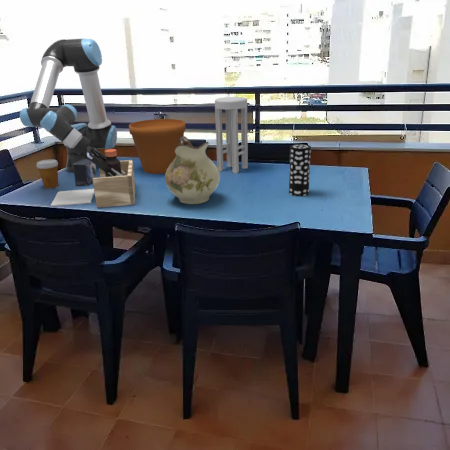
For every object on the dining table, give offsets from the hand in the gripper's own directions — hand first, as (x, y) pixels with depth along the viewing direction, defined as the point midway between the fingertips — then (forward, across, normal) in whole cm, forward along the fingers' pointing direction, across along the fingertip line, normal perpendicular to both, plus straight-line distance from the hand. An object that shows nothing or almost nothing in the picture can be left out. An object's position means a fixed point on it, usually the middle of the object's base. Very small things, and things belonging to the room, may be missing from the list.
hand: (122, 177), depth 188 cm
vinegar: (+3, 0, -8) cm, 9 cm away
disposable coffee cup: (-19, -22, -30) cm, 42 cm away
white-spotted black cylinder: (+58, +17, +46) cm, 76 cm away
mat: (-10, -2, -21) cm, 23 cm away
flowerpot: (+18, -39, +6) cm, 43 cm away
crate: (+3, 0, -8) cm, 9 cm away
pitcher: (+26, +13, +14) cm, 32 cm away
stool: (+43, -28, +32) cm, 61 cm away
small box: (-7, -24, -19) cm, 31 cm away
